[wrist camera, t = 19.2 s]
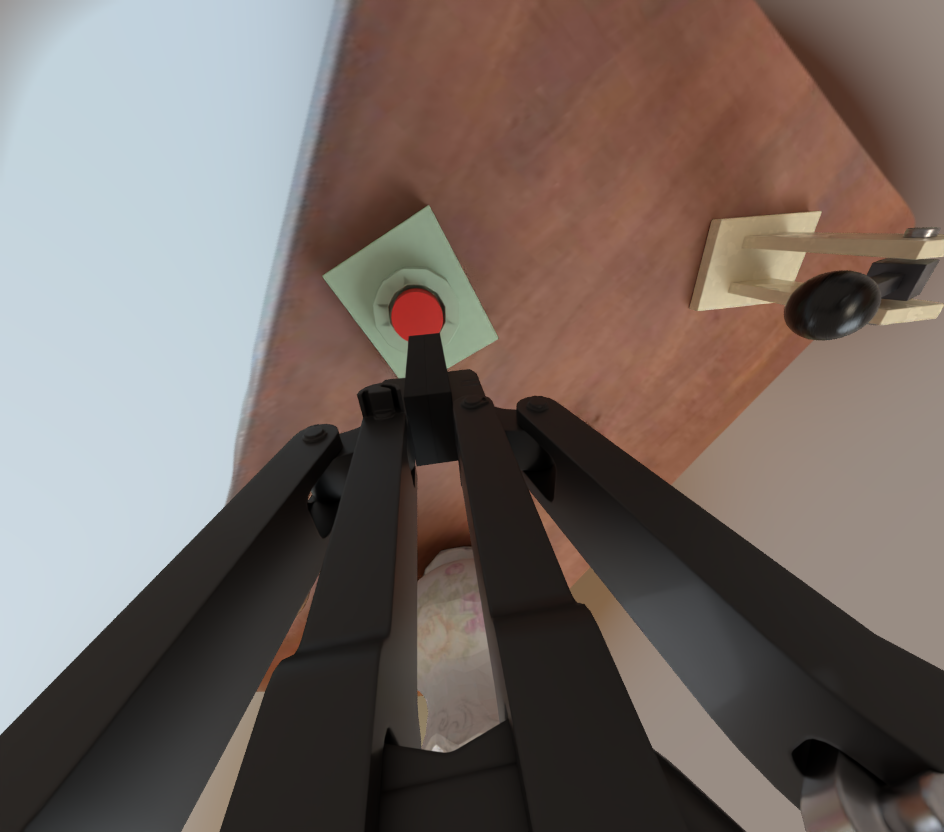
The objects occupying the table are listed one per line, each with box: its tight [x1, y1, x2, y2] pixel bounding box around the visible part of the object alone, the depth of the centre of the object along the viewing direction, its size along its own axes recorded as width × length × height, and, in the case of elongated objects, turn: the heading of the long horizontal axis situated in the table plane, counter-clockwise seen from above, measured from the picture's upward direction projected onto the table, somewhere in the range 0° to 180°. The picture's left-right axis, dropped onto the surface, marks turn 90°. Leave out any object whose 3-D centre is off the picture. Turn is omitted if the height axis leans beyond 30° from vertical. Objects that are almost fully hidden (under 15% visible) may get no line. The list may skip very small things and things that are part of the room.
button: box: [391, 288, 443, 341], centre depth 27 cm, size 4×4×2 cm
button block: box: [322, 205, 498, 378], centre depth 29 cm, size 12×10×4 cm
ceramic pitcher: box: [417, 546, 500, 752], centre depth 40 cm, size 22×20×25 cm
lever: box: [784, 258, 939, 340], centre depth 20 cm, size 14×4×4 cm, turn 94°
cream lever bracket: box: [689, 211, 944, 325], centre depth 27 cm, size 10×8×14 cm
